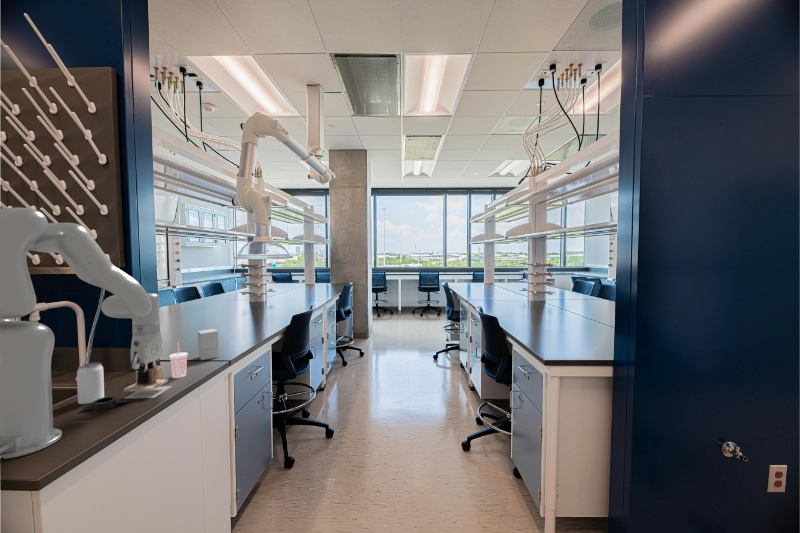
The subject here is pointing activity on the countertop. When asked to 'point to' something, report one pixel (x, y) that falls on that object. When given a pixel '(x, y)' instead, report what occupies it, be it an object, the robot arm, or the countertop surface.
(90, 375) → the can
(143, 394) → the mat
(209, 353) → the supplement box
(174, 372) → the beverage cup
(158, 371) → the bowl
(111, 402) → the black winged knob
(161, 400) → the countertop surface
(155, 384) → the lid
